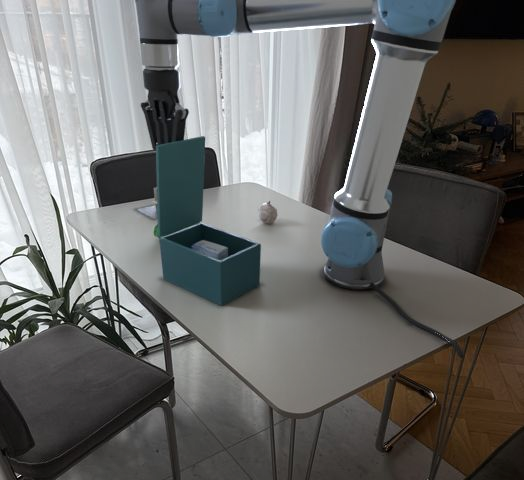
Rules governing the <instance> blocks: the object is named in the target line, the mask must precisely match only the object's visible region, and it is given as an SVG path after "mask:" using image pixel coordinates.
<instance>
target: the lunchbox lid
mask: <svg viewBox="0 0 524 480" xmlns="http://www.w3.org/2000/svg"><path fill="white" fill-rule="evenodd" d="M205 155H206V136H204V135H201V136H196V137H191V138H187V139H184V140H181V141H176V142H171V143H166V144H161V145H156V150H155V159H156V160H155V165H156V166H155V169H156V171H155V172H156V187H157V213H158V219H157V224H158V236H160V237H161V236H163V235H166V234H169V233H171V232H174V231H177V230H180V229H182V228H185V227H188V226H190V225H193V224H196V223H199V222H200V223H202V222H203V211H204V209H203V207H204V182H205V158H206V156H205Z"/></svg>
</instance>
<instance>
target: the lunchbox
mask: <svg viewBox="0 0 524 480" xmlns="http://www.w3.org/2000/svg"><path fill="white" fill-rule="evenodd" d="M158 239H159V248H160V249H159V250H160V258H161V270H162V278H163V280H164V281H167V282H169V283H170V284H173V285H175V286H177V287H180V288H182V289H183V290H186V291H188V292H189V293H192V294H194V295H197V296H199V297H201V298H203V299H206V300H207V301H210V302H212V303H214V304H216V305H218V306H222V307H223V306H224V305H225V304H227V303H229V302H231V301H232V300H234V299H237V298H239V297H241V296H242V295H244V294H246V293H247V292H249V291H251V290H253V289H254V288H256V287H258V286H260V280H261V254H262V252H261V251H262V244H261V243H260V242H257V241H255V240H252V239H248V238H246V237H243V236H240V235H238V234H234V233H232V232H229V231H226V230H223V229H220V228H218V227H215V226H212V225H209V224H207V223H204V222H200V223H199V224H196V225H193V226H191V227H188V228H185V229H182V230H180V231H177V232H174V233H172V234H169V235H166V236H164V237H161V238H158ZM202 240H205V241H208V242H212V243H215V244H218V245H221V246H225V247H227V248H228V257H227V258H225V259H223V260H221V261H220V260H218V259H215V258H213V257H210V256H208V255H205V254H203V253H200V252H198V251H195V250H193V249H192V245H194V244H195V243H197V242H199V241H202Z"/></svg>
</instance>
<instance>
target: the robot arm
mask: <svg viewBox="0 0 524 480" xmlns="http://www.w3.org/2000/svg"><path fill="white" fill-rule="evenodd" d="M134 3H135V9H136V15H137V24H138V25H137V26H138V33H139V34H138V35H139V49H140V61H141V65H142V66H143V67H144V68H143V70H142V78H143V79H142V80H143V87H144V89H145V90H147V91H148V92H147V99H146V101H145V102H141V103H140V108H141V110H142V112H143V115H144V118H145V123H146V126H147V131H148V135H149V140H150V143H151V148H152V150H153V151H156V145H161V144H166V143H171V142H176V141H181V140H185V132H186V125H187V124H186V122H187V119H188V116H189V113H190V111H189V108H187V107H186V108H184V107H183V105H181V100H180V97H179V94H178V93H179V90H180V89H181V75H180V74H181V73H180V72H181V71H179V69H178V67H179V65H180V60H179V39H178V36H179V35H180V36H181V35H182V36H183V35H185V36H196V37H210V38H226V37H230V36H238V35H242V34H253V33H265V32H279V31H290V30H291V31H293V30H305V29H306V30H307V29H316V28H318V29H319V28H331V27H344V26H357V25H359V26H360V25H370V24H374V25H373V29H372V34H371V40H370V41H371V44H372V45H373V47H374V50H375V54H376V55H375V60H374V63H373V68H372V72H371V76H370V80H369V84H368V88H367V92H366V96H365V100H364V106H363V108H362V112H361V117H360V121H359V125H358V129H357V133H356V136H355V142H354V145H353V148H352V152H351V153H352V154H351V157H350V161H349V166H348V169H347V173H346V178H345V182H344V186H343V187H342V188H341V189H340V190H339V191H337V192H335V194H334V196H333V201H332V205H331V209H330V212H329V217H328V221H327V224H326V225H325V226H324V228H323V229H322V233H321V239H320V242H321V249H322V251H323V253H324V254H325V256H326V257H327V261H326V262H325V266H324V271H323V276H324V278H325V279H326V280H327V281H328V282H329V283H331V284H332V285H334V286H337V287H340V288H343V289H347V290H354V291H366V290H372V289H373V290H374V291H375V292H377V293H378V294H379V295H380V296H381V297H382V298H383V299H384V300H386V301H387V303H389V304H390V305H391V306H392V307H393V308H394V309H395V310H396V312H397V313H399V315H400V316H401V317H403V319H404V320H406V321H407V322H409V323H410V324H412V325H413V326H415V327H417V328H419V329H421V330H423V331H426V332H428V333H430V334H431V335H434V336H436V338H437V337H438V338H439V339H441V340H442V341H444V342H446V343H447V344H449V345H451V346H452V347H453V348H454V349H455V351H456V354H457V357H459V358H460V359H464V358H465V357H464V353H463V350H462V348H461V347H460V345H459V344H458V342H456V341H455V340H454V339H452V338H450V337H448V336H446V335H445V334H443V333H441V332H440V331H438V330H436V329H435V328H432V327H429V326H428V325H425V324H423V323H421V322H419V321H417V320H415V319H414V318H412V317H410V316H409V315H408V314H407V313H406V312H405V311H404V310H403V309H402V308H401V306H399V305H398V303H396V302H395V301H394V299H392V298H391V297H390V296H389V295H388V294H386V293H385V292H384V291H383V290H382V289H381V288H379V287H380V286H381V285H382V284H383V282H384V279H385V265H384V259H383V245H384V242H385V236H386V232H387V225H388V220H389V216H390V211H391V205H392V204H393V202H392V200H393V192H392V191H391V189H388V188H389V185H390V182H391V179H392V175H393V172H394V169H395V165H396V162H397V159H398V155H399V153H400V152H399V151H400V149H401V145H402V143H403V138H404V135H405V132H406V129H407V127H408V123H409V120H410V116H411V112H412V109H413V106H414V103H415V99H416V96H417V94H418V93H417V92H418V90H419V86H420V82H421V79H422V76H423V73H424V69H425V67H426V64H427V62H428V61H429V60H431V59H432V58H433V57H434V56H436V55H438V53H439V51H440V48H441V45H442V41H443V38H444V35H445V33H446V32H445V31H446V29H447V26H448V23H449V19H450V16H451V13H452V10H453V9H454V7H455V4H456V3H457V0H134ZM435 332H436V333H435ZM437 333H438V334H437ZM439 334H440V335H439ZM442 336H443V337H444V338H443V337H442ZM445 338H446V339H447V340H448V341H450V342H451V343H449V342H448V341H447V340H446V339H445Z"/></svg>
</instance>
